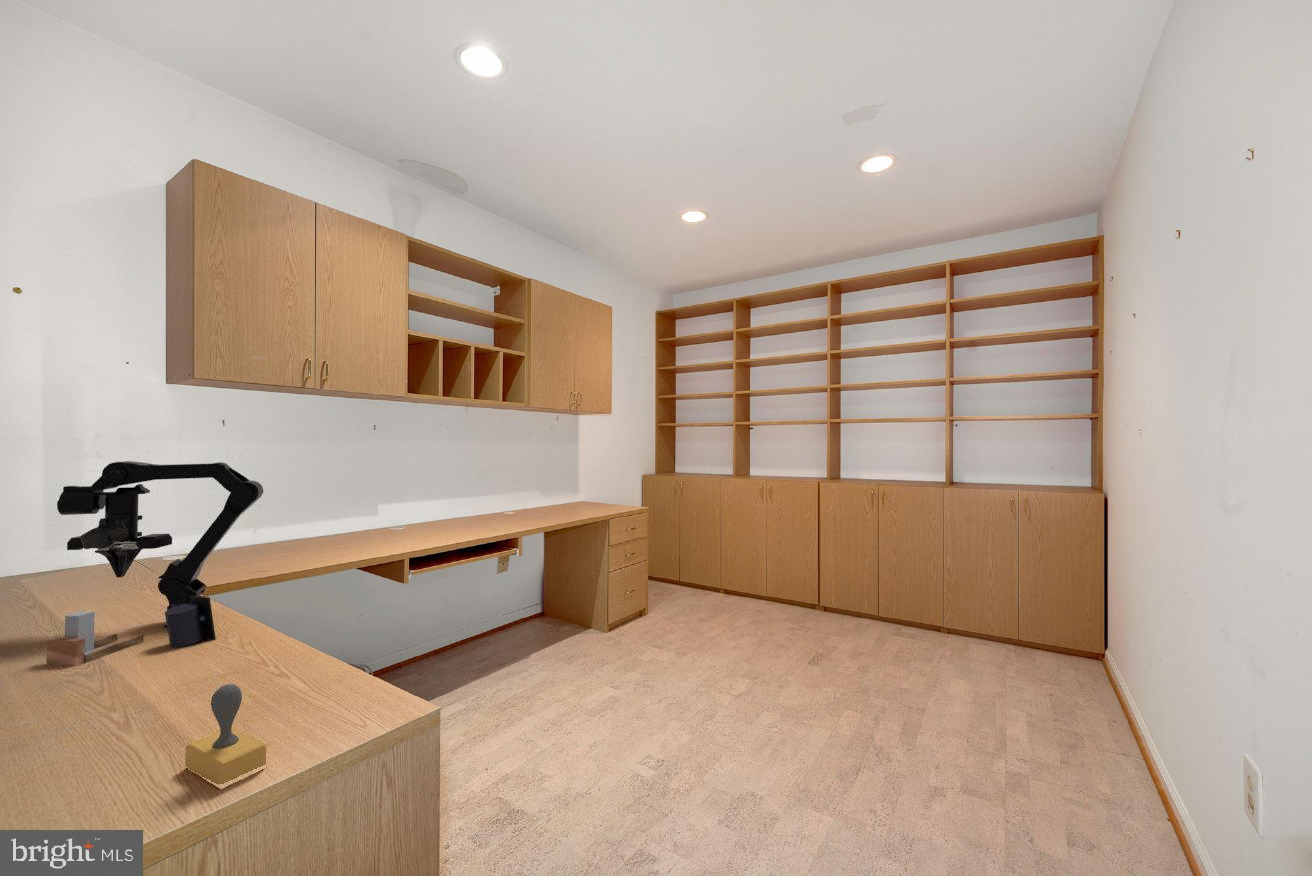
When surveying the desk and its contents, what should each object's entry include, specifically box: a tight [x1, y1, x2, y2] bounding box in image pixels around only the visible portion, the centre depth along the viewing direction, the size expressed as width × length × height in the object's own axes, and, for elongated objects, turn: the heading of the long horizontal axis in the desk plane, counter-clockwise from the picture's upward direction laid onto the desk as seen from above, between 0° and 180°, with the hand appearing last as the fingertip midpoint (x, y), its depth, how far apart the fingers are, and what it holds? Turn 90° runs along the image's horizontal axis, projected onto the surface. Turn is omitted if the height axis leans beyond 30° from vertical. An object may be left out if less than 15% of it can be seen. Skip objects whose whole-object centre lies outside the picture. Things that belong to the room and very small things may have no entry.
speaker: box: [164, 595, 217, 649], centre depth 122 cm, size 8×6×10 cm
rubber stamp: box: [184, 683, 267, 785], centre depth 76 cm, size 10×6×12 cm, turn 62°
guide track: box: [46, 633, 145, 667], centre depth 116 cm, size 13×7×5 cm, turn 177°
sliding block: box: [64, 610, 97, 654], centre depth 112 cm, size 3×5×9 cm, turn 87°
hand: (120, 577), depth 129 cm, fingers closed
